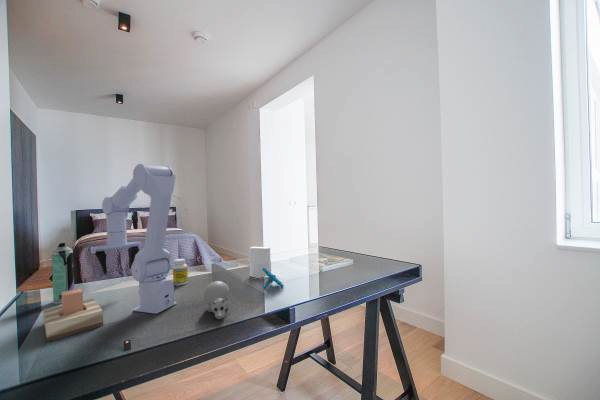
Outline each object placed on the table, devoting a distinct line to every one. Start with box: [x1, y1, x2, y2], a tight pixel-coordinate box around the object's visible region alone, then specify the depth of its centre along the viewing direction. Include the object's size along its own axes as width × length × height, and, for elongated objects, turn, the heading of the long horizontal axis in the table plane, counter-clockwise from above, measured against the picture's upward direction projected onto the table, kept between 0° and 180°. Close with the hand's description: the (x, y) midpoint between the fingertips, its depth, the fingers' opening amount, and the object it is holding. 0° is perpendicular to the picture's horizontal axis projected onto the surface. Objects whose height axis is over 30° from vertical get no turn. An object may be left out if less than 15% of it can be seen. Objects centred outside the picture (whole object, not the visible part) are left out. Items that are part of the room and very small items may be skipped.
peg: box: [61, 288, 84, 316], centre depth 73 cm, size 4×4×8 cm
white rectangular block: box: [249, 246, 272, 277], centre depth 114 cm, size 9×9×12 cm
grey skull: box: [203, 280, 231, 320], centre depth 76 cm, size 7×12×8 cm, turn 20°
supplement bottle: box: [172, 258, 189, 286], centre depth 107 cm, size 5×5×10 cm
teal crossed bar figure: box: [262, 268, 285, 290], centre depth 97 cm, size 11×6×10 cm
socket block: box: [42, 298, 104, 342], centre depth 73 cm, size 14×11×4 cm
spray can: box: [51, 242, 75, 305], centre depth 92 cm, size 6×6×20 cm
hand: (118, 270), depth 93 cm, fingers open, 7 cm apart
